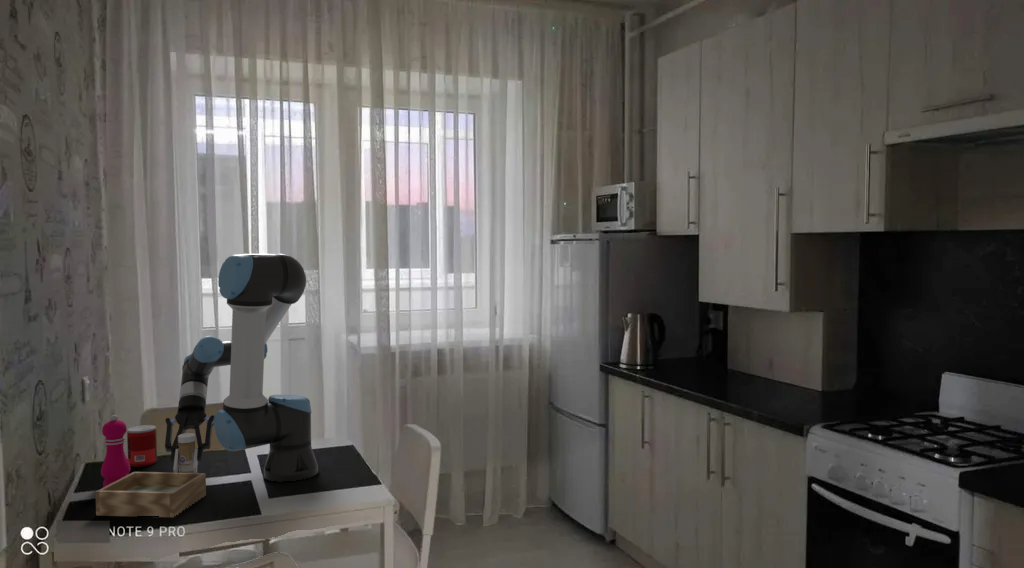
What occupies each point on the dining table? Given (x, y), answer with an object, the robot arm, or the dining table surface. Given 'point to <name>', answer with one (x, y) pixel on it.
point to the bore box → (151, 494)
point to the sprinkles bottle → (186, 452)
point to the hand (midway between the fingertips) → (185, 471)
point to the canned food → (142, 445)
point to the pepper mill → (114, 451)
